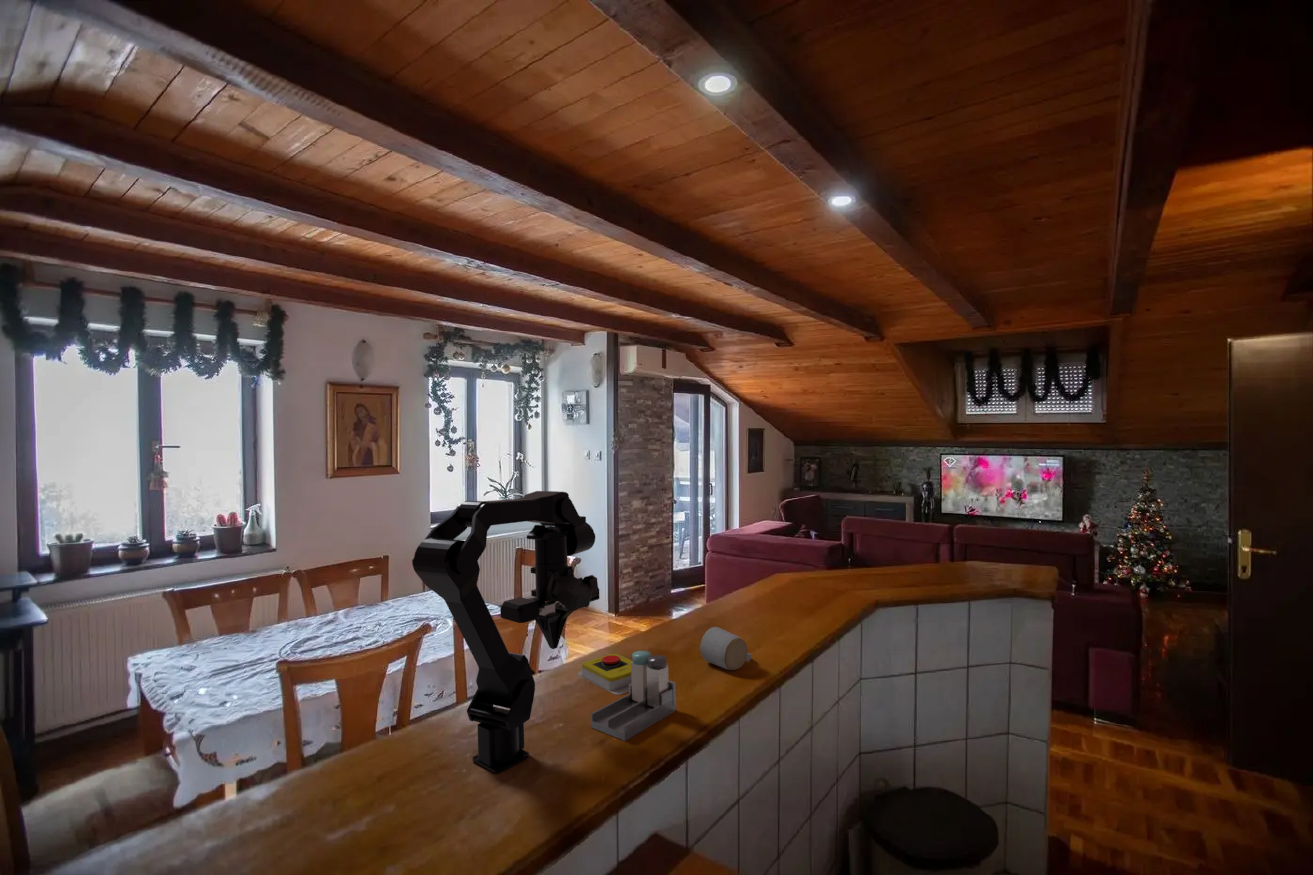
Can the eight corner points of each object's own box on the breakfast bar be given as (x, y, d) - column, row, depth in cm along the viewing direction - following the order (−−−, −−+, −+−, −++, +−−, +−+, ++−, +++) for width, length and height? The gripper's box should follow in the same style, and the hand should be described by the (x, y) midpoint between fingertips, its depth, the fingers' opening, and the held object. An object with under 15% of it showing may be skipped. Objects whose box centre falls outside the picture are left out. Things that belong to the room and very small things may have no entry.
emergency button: (611, 645, 137) (653, 664, 126) (611, 664, 137) (654, 685, 126) (575, 655, 131) (616, 676, 120) (576, 676, 132) (617, 698, 120)
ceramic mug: (726, 676, 128) (726, 639, 128) (699, 665, 135) (699, 630, 135) (760, 664, 135) (760, 629, 135) (733, 654, 141) (732, 620, 141)
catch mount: (625, 741, 102) (623, 681, 102) (591, 727, 107) (589, 670, 107) (676, 710, 113) (674, 656, 113) (643, 699, 118) (641, 647, 118)
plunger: (643, 704, 112) (642, 658, 112) (629, 699, 114) (628, 654, 114) (655, 698, 115) (654, 653, 115) (641, 693, 117) (640, 649, 117)
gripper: (539, 577, 98) (542, 675, 98) (619, 557, 112) (622, 642, 112) (497, 568, 105) (499, 660, 105) (577, 550, 119) (579, 631, 119)
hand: (553, 648), depth 110 cm, fingers closed
